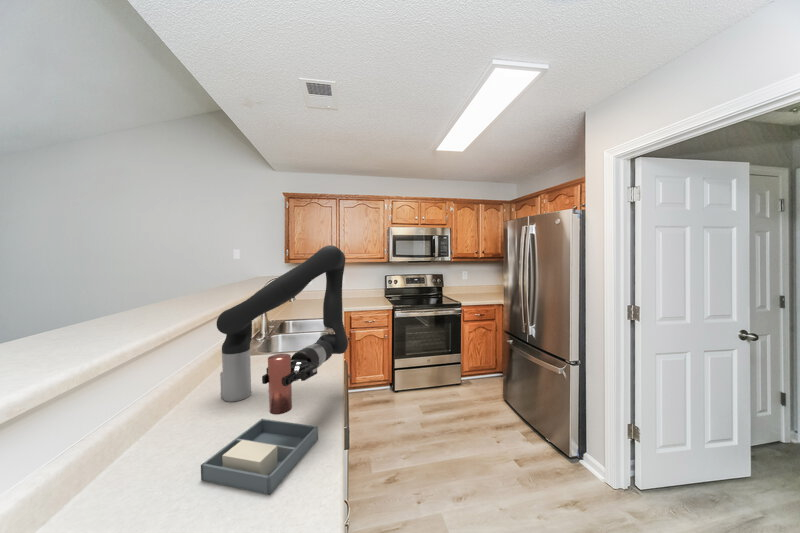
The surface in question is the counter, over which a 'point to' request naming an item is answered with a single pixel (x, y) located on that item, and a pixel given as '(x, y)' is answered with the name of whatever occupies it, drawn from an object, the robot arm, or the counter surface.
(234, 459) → the cream block
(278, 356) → the copper cylinder
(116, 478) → the counter surface
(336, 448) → the counter surface
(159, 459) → the counter surface
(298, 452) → the tray
